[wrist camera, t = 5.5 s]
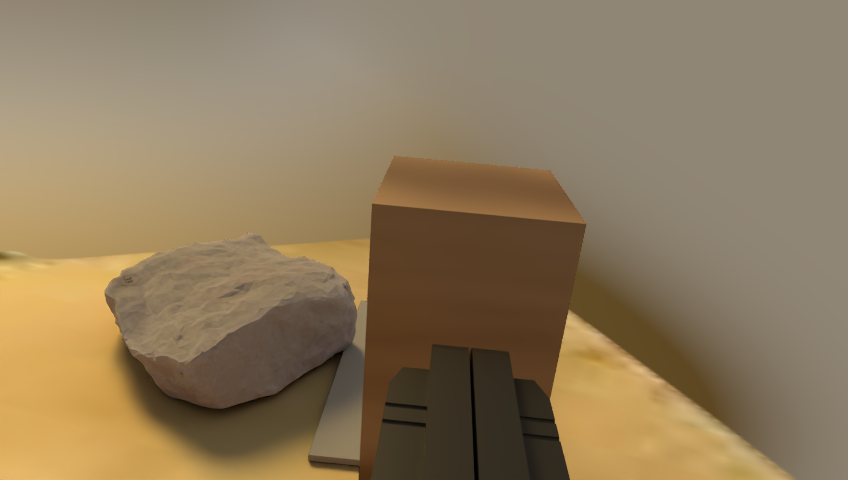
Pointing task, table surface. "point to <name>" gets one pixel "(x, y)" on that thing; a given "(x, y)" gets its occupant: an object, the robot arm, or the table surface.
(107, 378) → the table surface
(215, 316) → the stone block
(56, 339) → the table surface
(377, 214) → the walnut block
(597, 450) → the table surface
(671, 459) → the table surface
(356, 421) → the felt pad
